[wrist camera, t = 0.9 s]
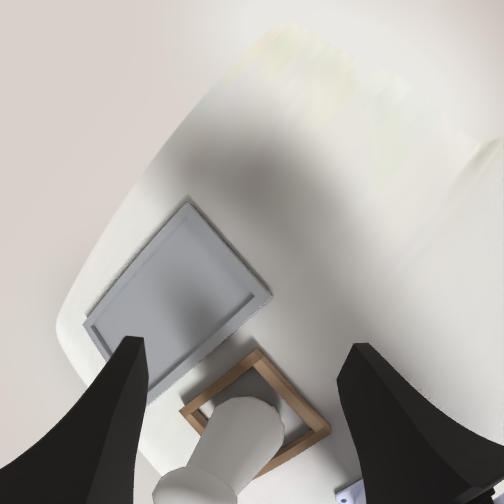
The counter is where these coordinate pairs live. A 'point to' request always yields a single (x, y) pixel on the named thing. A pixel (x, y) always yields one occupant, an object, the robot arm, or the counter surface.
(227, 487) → the salt shaker
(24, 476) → the robot arm
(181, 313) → the grey tray
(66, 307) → the counter surface
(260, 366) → the walnut collar
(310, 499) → the counter surface
